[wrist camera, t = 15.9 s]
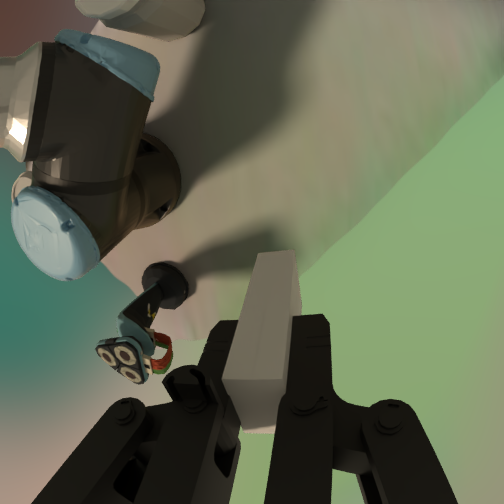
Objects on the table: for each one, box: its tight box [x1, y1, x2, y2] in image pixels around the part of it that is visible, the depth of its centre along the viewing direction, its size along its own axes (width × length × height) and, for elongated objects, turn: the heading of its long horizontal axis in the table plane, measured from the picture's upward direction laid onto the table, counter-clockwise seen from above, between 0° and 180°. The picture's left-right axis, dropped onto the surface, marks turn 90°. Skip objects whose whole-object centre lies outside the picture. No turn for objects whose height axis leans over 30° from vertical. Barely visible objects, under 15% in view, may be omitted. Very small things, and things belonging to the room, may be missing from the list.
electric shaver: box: [96, 263, 188, 384], centre depth 47 cm, size 9×12×20 cm
